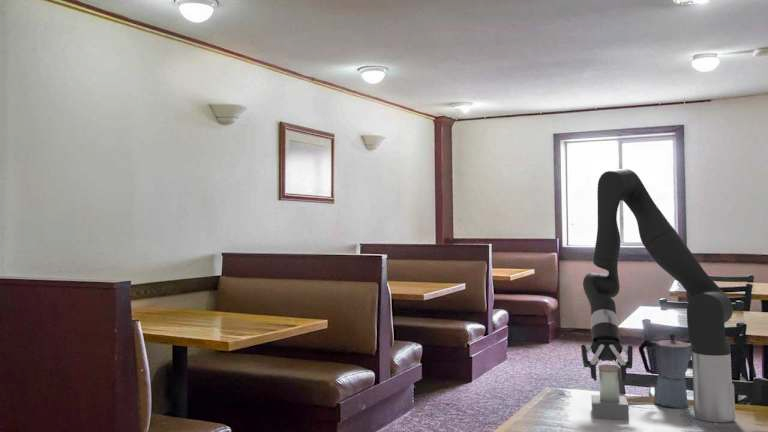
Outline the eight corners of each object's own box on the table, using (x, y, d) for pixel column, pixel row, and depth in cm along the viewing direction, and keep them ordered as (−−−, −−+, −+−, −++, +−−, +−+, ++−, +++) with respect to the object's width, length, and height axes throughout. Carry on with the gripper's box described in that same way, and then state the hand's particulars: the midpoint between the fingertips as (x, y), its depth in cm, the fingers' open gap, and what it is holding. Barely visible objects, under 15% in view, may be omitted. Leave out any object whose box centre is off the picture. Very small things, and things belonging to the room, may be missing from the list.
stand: (625, 410, 183) (625, 396, 184) (628, 419, 175) (628, 404, 175) (591, 409, 186) (591, 394, 186) (593, 418, 177) (592, 403, 177)
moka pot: (703, 409, 182) (700, 337, 183) (644, 408, 185) (641, 336, 186) (694, 400, 192) (691, 331, 192) (638, 399, 195) (635, 331, 195)
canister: (619, 397, 182) (617, 364, 182) (620, 402, 177) (619, 368, 177) (599, 396, 184) (598, 364, 184) (600, 401, 179) (599, 368, 179)
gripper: (578, 321, 190) (581, 371, 178) (632, 321, 186) (638, 372, 174) (578, 336, 195) (581, 386, 183) (630, 337, 191) (636, 388, 179)
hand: (609, 379), depth 179 cm, fingers open, 6 cm apart
